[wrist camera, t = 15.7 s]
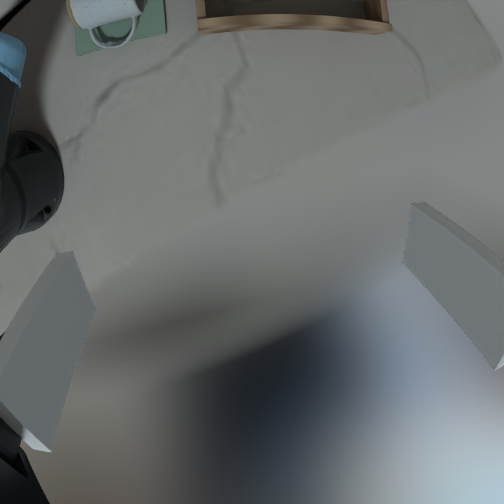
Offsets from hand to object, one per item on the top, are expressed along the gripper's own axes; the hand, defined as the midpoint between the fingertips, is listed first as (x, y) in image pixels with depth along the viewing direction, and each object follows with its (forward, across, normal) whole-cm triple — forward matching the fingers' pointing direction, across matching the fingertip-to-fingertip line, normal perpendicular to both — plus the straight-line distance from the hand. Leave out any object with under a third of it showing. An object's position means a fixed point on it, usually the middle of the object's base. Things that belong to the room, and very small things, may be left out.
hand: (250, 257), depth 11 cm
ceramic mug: (+31, +11, -20) cm, 38 cm away
